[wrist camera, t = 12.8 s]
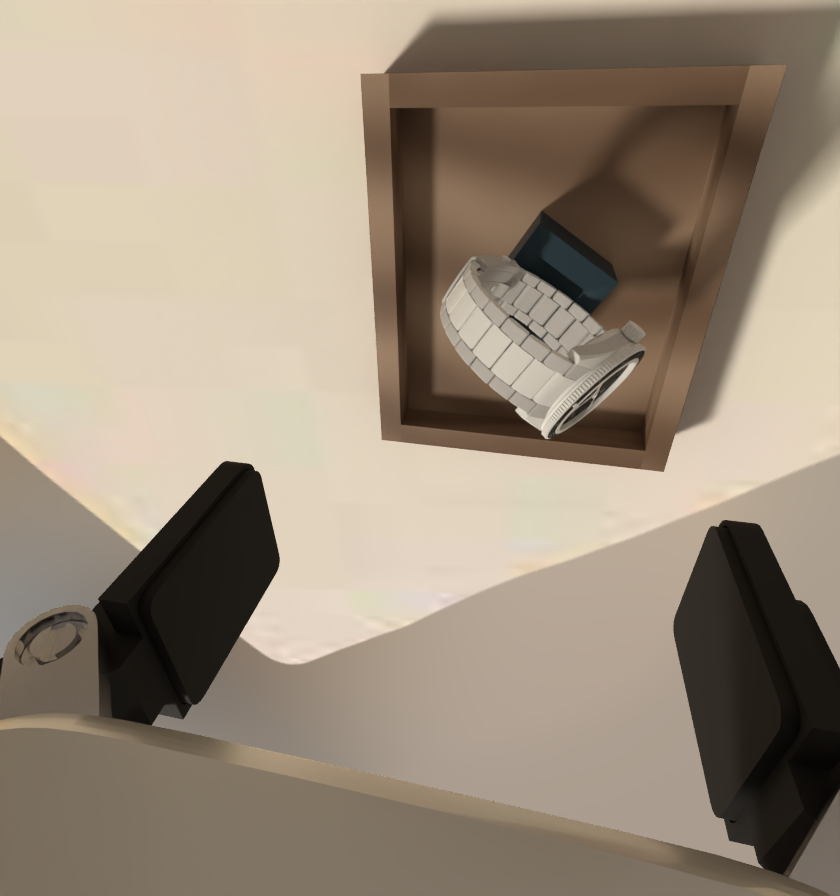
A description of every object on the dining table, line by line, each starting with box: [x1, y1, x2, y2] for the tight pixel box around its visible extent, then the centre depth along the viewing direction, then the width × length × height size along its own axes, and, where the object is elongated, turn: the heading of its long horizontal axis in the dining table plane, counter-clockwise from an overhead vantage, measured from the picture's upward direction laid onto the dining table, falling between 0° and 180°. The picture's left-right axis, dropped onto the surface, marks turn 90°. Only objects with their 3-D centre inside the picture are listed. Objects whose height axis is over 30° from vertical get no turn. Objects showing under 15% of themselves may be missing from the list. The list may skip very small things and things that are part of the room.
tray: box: [361, 65, 787, 472], centre depth 26 cm, size 18×16×3 cm
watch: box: [440, 211, 646, 439], centre depth 22 cm, size 6×8×11 cm
